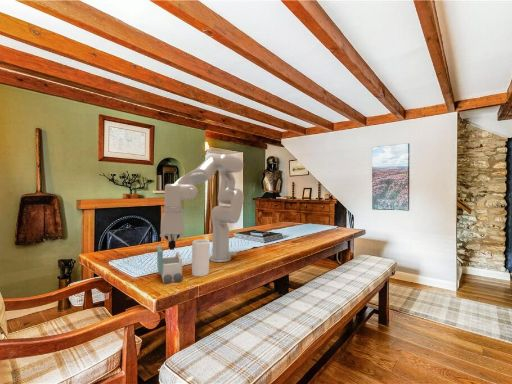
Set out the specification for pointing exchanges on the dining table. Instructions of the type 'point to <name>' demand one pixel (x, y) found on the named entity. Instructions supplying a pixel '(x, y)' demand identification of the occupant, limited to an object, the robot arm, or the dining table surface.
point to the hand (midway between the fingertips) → (171, 249)
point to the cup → (200, 257)
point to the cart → (172, 269)
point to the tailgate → (160, 259)
